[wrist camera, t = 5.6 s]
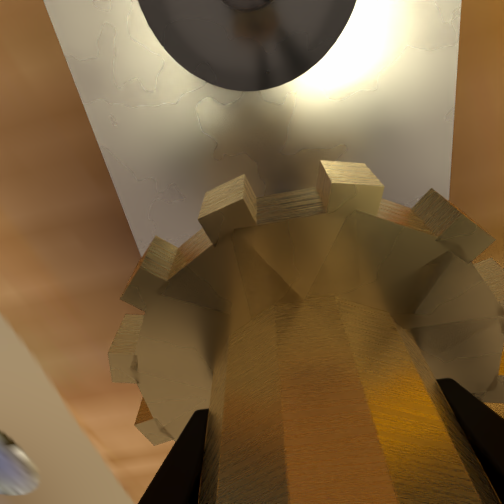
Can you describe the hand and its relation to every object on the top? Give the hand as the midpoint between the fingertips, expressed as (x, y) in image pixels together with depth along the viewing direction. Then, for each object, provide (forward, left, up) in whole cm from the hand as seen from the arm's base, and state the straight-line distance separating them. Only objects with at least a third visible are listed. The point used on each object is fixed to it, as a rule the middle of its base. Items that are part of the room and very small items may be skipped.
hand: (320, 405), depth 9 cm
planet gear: (0, 0, -2) cm, 2 cm away
